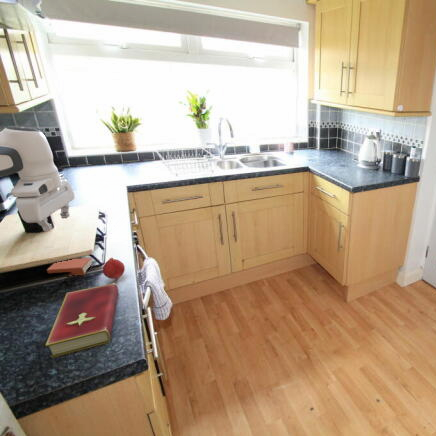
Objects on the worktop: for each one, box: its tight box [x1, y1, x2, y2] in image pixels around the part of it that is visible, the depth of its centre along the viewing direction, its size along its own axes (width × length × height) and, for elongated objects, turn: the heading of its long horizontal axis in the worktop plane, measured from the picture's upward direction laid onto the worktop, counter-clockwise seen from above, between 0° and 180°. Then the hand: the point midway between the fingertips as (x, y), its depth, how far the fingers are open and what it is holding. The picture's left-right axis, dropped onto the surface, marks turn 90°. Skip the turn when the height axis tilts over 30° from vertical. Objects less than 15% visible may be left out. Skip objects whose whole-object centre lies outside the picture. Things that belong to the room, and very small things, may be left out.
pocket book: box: [46, 257, 93, 277], centre depth 105 cm, size 10×6×3 cm, turn 100°
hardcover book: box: [45, 282, 119, 359], centre depth 84 cm, size 12×21×4 cm, turn 26°
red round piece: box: [102, 256, 126, 280], centre depth 101 cm, size 6×6×8 cm
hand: (57, 223), depth 101 cm, fingers open, 8 cm apart
